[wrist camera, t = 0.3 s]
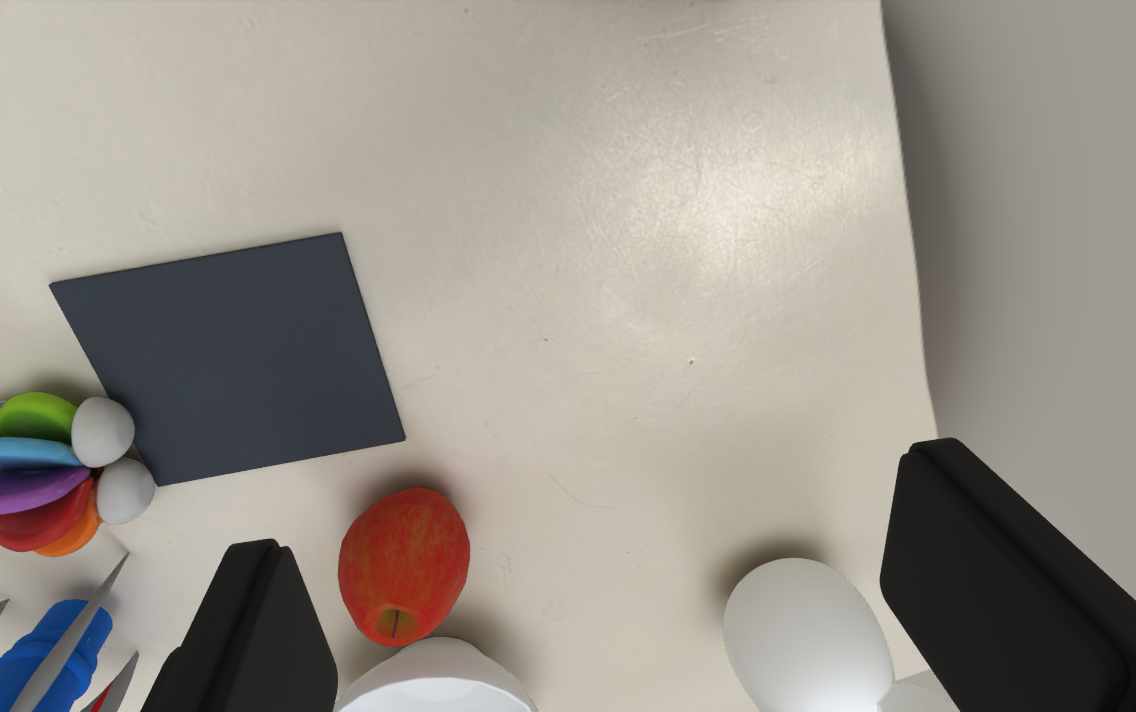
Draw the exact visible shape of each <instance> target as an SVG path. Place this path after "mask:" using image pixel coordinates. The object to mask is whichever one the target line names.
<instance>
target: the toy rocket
mask: <svg viewBox="0 0 1136 712" xmlns="http://www.w3.org/2000/svg"><path fill="white" fill-rule="evenodd" d="M128 555H129V553H127V554H126V555H125V556H124V558H123V559H122V560H121V561H120V563H119V564H118V565H117V566H116V568H115V569H114V570H113V572H112V573H111V574H110V575H109V577H108V578H107V579H106V580H105V582H104V583H103V584H102V586H101V587H100V588H99V589H98V591H97V592H96V593H95V595H94V596H93V597H92V598H91V600H90V601H85V600H78V599H73V600H64V601H61V602H59V603H56V604H55V605H54V606H52V607H51V608H50V609H49V611H48V612H47V613H46V614H45V616H44V617H43V618H42V620H41V621H40V622H39V623H38V625H37V626H36V627H35V628H34V630H33V631H32V632H31V633H30V634H28V635H25V636H23V637H22V638H21V639H19V640H18V641H17V642H16V643H15V644H14V646H13V647H12V649H10V650H9V651H7V652H6V653H5V654H4V655H3V656H2V657H1V658H0V712H69V711H70V709H71V707H72V705H73V703H74V701H75V700H77V699H78V698H80V697H81V696H82V695H83V694H84V693H85V692H86V690H87V689H88V687H89V685H90V683H91V678H92V674H93V673H94V671H95V670H96V667H97V654H98V652H99V651H100V649H101V647H102V645H103V643H104V642H105V640H106V638H107V636H108V635H109V633H110V631H111V629H112V619H111V617H110V615H109V613H108V612H107V611H106V610H104V609H103V608H102V607H100V605H101V604H102V602H103V600H104V598H105V597H106V595H107V593H108V591H109V590H110V588H111V586H112V584H113V583H114V581H115V579H116V577H117V575H118V574H119V572H120V570H121V568H122V566H123V564H124V562H125V561H126V559H127V557H128ZM8 601H9V599H8V600H4V601H2V602H0V614H1V613H2V611H3V609H4V607H5V606H6V604H7V602H8ZM138 657H139V654H138V652H137V651H136V653H135V654H134V656H133V657H132V658H131V659H130V661H129V662H128V663H127V664H126V666H125V667H124V668H123V670H122V671H121V672H120V673H119V674H118V675H117V677H116V678H115V679H114V680H113V681H112V682H111V683H110V684H109V685H108V686H107V687H106V689H105V690H104V691H103V692H102V693H101V694H100V695H99V696H97V697H96V698H95V699H94V700H93V701H92V702H91V703H90V704H89V705H88V706H87V707H85V708H84V709H83V710H82V711H80V712H117V711H118V709H119V707H120V705H121V702H122V700H123V698H124V696H125V694H126V691H127V689H128V686H129V684H130V681H131V678H132V675H133V672H134V669H135V666H136V663H137V660H138Z"/></svg>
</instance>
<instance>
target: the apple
mask: <svg viewBox="0 0 1136 712" xmlns="http://www.w3.org/2000/svg"><path fill="white" fill-rule="evenodd" d="M469 561H470V543H469V539H468V535H467V531H466V528H465V524H464V522H463V520H462V519H461V517H460V515H459V514H458V512H457V510H456V509H455V507H454V506H453V505H452V504H451V503H450V502H449V501H448V500H447V499H446V498H445V497H444V496H443V495H442V494H441V493H439V492H436V491H433V490H430V489H427V488H424V487H412V488H408V489H405V490H402V491H399V492H396V493H393V494H391V495H389V496H386V497H384V498H382V499H380V500H378V501H377V502H376V503H374V504H373V505H372V506H371V507H370V508H369V509H367V510H366V511H365V512H364V513H363V514H361V515H360V516H359V517H358V518H357V519H356V520H355V521H354V522H353V524H352V525H351V526H350V528H349V530H348V531H347V533H346V535H345V537H344V539H343V540H342V544H341V549H340V554H339V564H338V580H339V587H340V591H341V595H342V598H343V602H344V603H345V605H346V607H347V609H348V611H349V613H350V615H351V617H352V618H353V620H354V622H355V624H356V626H357V628H358V629H359V630H360V631H361V632H362V633H363V634H364V635H365V636H366V637H368V638H369V639H371V640H373V641H375V642H377V643H379V644H382V645H386V646H393V647H397V646H402V645H407V644H410V643H412V642H415V641H417V640H419V639H422V638H424V637H426V636H428V635H429V634H430V633H431V632H432V631H433V630H434V629H435V628H436V627H437V626H438V625H439V624H440V623H441V622H442V621H443V620H444V619H445V618H446V616H447V615H448V614H449V612H450V611H451V609H452V607H453V606H454V604H455V603H456V601H457V599H458V597H459V595H460V593H461V591H462V589H463V587H464V585H465V583H466V578H467V573H468V567H469Z"/></svg>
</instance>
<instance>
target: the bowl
mask: <svg viewBox="0 0 1136 712" xmlns="http://www.w3.org/2000/svg"><path fill="white" fill-rule="evenodd" d="M333 712H538V709H537V707H536V705H535V703H534V701H533V699H532V697H531V696H530V695H529V693H528V692H527V691H526V689H525V688H524V687H523V685H522V684H521V683H520V682H519V681H518V679H517V678H516V677H515V676H514V675H513V674H512V673H510V672H509V671H507V670H506V669H505V668H503V667H502V666H501V665H499V664H498V663H496V662H495V661H494V660H492V659H491V658H489V657H487V656H485V655H483V654H482V653H481V652H480V651H479V650H478V649H477V648H476V647H474V646H473V645H471V644H470V643H468V642H465V641H463V640H460V639H456V638H450V637H431V638H426V639H421V640H419V641H416V642H414V643H411V644H409V645H408V646H406V647H405V648H403V649H402V650H401V651H399V652H398V653H397V654H396V655H394V656H393V657H391V658H389V659H387V660H385V661H383V662H381V663H380V664H378V665H377V666H375V667H374V668H373V669H371V670H370V671H368V672H367V673H366V674H364V675H363V676H361V677H360V678H358V679H357V680H356V681H355V682H354V683H353V684H352V685H351V686H350V687H349V688H348V689H347V690H346V692H345V693H344V694H343V695H342V697H341V698H340V699H339V700H338V701H337V703H336V704H335V705H334V708H333Z"/></svg>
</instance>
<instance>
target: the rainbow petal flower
mask: <svg viewBox="0 0 1136 712" xmlns="http://www.w3.org/2000/svg"><path fill="white" fill-rule="evenodd" d="M134 433H135V426H134V421H133V419H132V417H131V415H130V413H129V412H128V411H127V410H126V409H125V408H124V407H123V406H122V405H121V404H119V403H118V402H116V401H113V400H111V399H108V398H103V397H91V398H88V399H86V400H85V401H84V402H83V403H82V404H81V405H80V406H79V408H78V407H76V406H75V405H73V404H72V403H70V402H68V401H66V400H64V399H62V398H60V397H58V396H55V395H52V394H48V393H43V392H27V393H22V394H18V395H16V396H14V397H12V398H10V399H9V400H8V401H4V400H3V401H0V545H1V546H3V547H5V548H7V549H9V550H12V551H16V552H27V551H34V552H36V553H38V554H41V555H44V556H49V557H58V556H63V555H67V554H70V553H73V552H75V551H77V550H78V549H80V548H82V547H83V546H84V545H85V544H87V543H88V542H89V541H90V540H91V539H92V537H93V536H94V534H95V533H96V531H97V529H98V527H99V525H100V524H101V523H103V522H105V523H106V524H108V525H120V524H124V523H127V522H129V521H131V520H133V519H135V518H137V517H138V516H140V515H141V514H142V513H143V512H144V511H145V510H146V509H147V508H148V506H149V505H150V503H151V501H152V499H153V495H154V488H155V486H154V480H153V477H152V474H151V473H150V471H149V470H148V469H147V468H146V467H145V466H144V465H143V464H141V463H140V462H138V461H136V460H133V459H130V458H125V457H121V456H122V455H124V454H125V453H126V451H127V450H128V449H129V447H130V445H131V444H132V441H133V439H134ZM105 465H107V466H106V467H101V466H105Z"/></svg>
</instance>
